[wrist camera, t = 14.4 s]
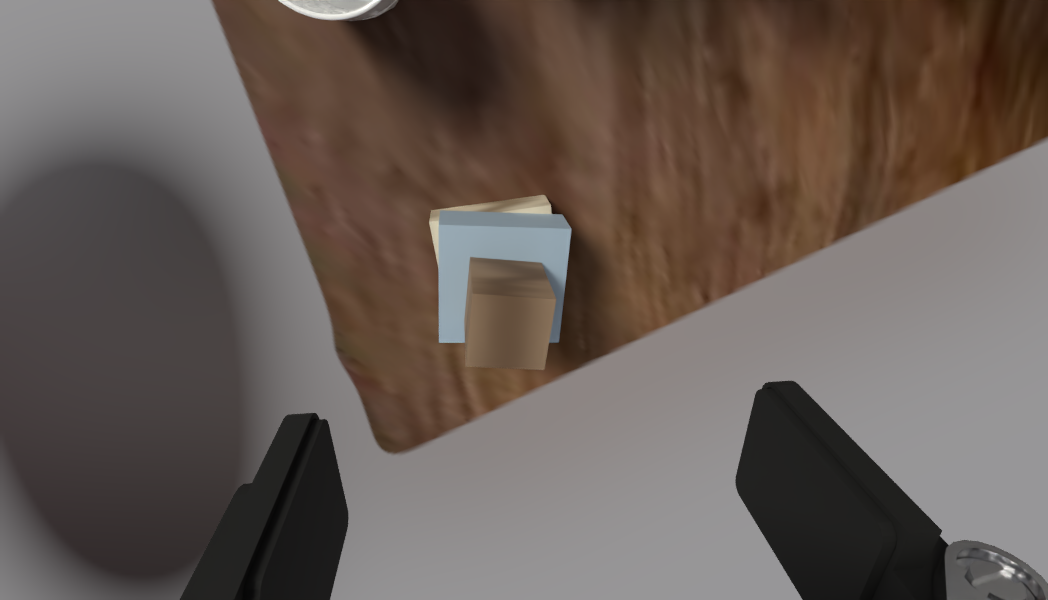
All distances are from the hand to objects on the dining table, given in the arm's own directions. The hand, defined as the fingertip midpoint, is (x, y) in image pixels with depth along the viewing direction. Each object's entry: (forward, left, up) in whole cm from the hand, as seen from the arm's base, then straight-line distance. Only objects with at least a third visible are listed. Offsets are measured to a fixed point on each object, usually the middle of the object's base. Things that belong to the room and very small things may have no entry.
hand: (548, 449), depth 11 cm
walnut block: (-1, +8, -25) cm, 26 cm away
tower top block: (-1, +7, -28) cm, 29 cm away
